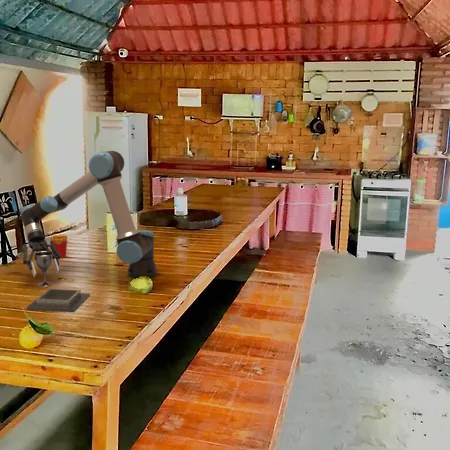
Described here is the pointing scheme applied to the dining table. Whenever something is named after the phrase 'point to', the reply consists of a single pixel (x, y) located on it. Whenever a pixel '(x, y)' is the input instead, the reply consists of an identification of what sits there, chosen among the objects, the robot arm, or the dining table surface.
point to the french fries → (60, 244)
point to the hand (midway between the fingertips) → (46, 273)
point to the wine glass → (44, 264)
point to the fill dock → (59, 300)
